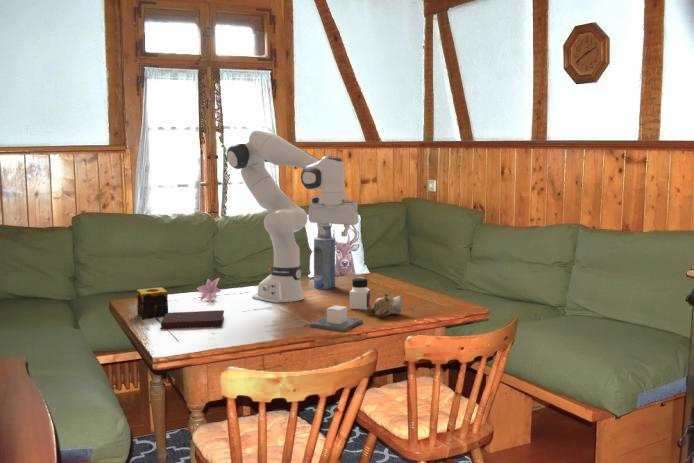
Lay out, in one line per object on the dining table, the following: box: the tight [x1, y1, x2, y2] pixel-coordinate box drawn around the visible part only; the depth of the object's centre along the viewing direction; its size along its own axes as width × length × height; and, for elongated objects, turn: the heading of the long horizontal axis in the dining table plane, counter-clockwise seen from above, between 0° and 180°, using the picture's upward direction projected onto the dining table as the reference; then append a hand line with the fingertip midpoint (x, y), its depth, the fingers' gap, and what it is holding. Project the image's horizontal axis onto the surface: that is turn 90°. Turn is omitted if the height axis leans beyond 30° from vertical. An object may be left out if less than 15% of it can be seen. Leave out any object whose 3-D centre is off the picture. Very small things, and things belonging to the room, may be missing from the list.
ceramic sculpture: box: [362, 293, 403, 318], centre depth 267 cm, size 11×9×15 cm
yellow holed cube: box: [136, 286, 169, 320], centre depth 269 cm, size 10×10×10 cm
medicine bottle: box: [349, 277, 371, 310], centre depth 280 cm, size 7×7×12 cm
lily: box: [196, 277, 222, 303], centre depth 297 cm, size 11×11×9 cm
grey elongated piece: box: [313, 223, 336, 290], centre depth 319 cm, size 10×10×30 cm
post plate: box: [309, 316, 363, 333], centre depth 254 cm, size 14×14×5 cm
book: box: [160, 309, 225, 330], centre depth 257 cm, size 14×22×4 cm, turn 96°
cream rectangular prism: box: [326, 304, 348, 324], centre depth 254 cm, size 5×5×5 cm
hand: (333, 235), depth 265 cm, fingers open, 8 cm apart
